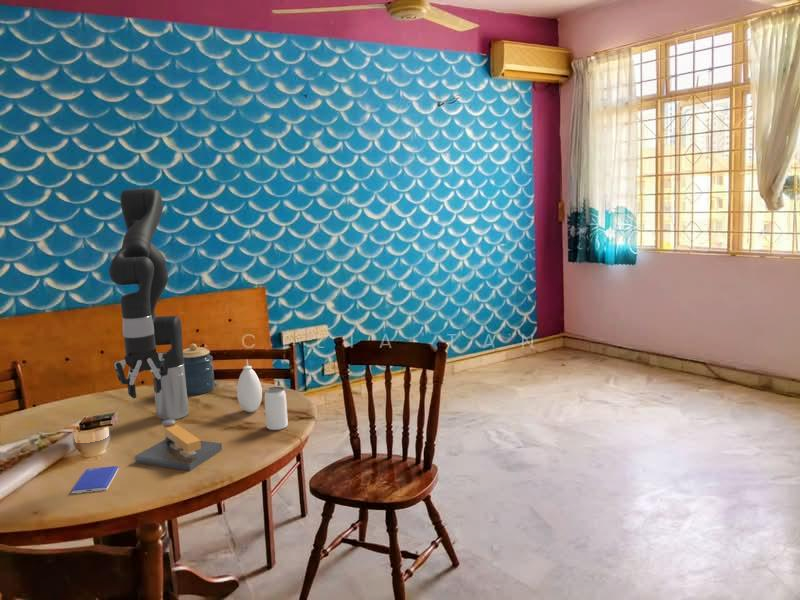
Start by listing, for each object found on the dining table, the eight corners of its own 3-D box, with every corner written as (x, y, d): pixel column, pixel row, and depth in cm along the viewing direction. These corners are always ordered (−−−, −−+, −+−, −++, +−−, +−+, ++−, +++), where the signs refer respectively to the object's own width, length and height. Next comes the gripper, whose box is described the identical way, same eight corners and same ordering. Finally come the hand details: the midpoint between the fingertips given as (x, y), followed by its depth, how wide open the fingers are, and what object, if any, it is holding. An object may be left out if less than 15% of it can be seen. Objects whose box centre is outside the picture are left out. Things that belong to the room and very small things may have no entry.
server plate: (135, 462, 176) (134, 454, 176) (170, 443, 189) (169, 435, 189) (190, 470, 170) (189, 462, 170) (222, 449, 183) (221, 442, 182)
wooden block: (162, 439, 186) (160, 421, 185) (174, 435, 189) (172, 418, 188) (188, 459, 171) (186, 440, 170) (201, 455, 174) (200, 437, 173)
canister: (178, 387, 243) (173, 342, 240) (213, 382, 247) (209, 338, 244) (179, 397, 231) (175, 349, 228) (217, 392, 236) (212, 345, 232)
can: (283, 431, 195) (280, 393, 193) (263, 430, 197) (260, 392, 195) (291, 423, 202) (288, 386, 200) (271, 422, 203) (268, 385, 201)
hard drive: (85, 469, 171) (71, 490, 159) (118, 465, 172) (106, 486, 160) (86, 474, 171) (71, 496, 159) (118, 471, 173) (107, 492, 161)
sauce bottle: (254, 416, 209) (250, 362, 206) (234, 414, 212) (229, 361, 209) (267, 408, 216) (263, 356, 213) (248, 406, 219) (243, 355, 216)
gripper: (114, 340, 162) (122, 404, 165) (171, 330, 171) (177, 391, 174) (105, 335, 167) (113, 398, 170) (161, 326, 176) (167, 386, 179)
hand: (145, 394), depth 172 cm, fingers open, 5 cm apart
